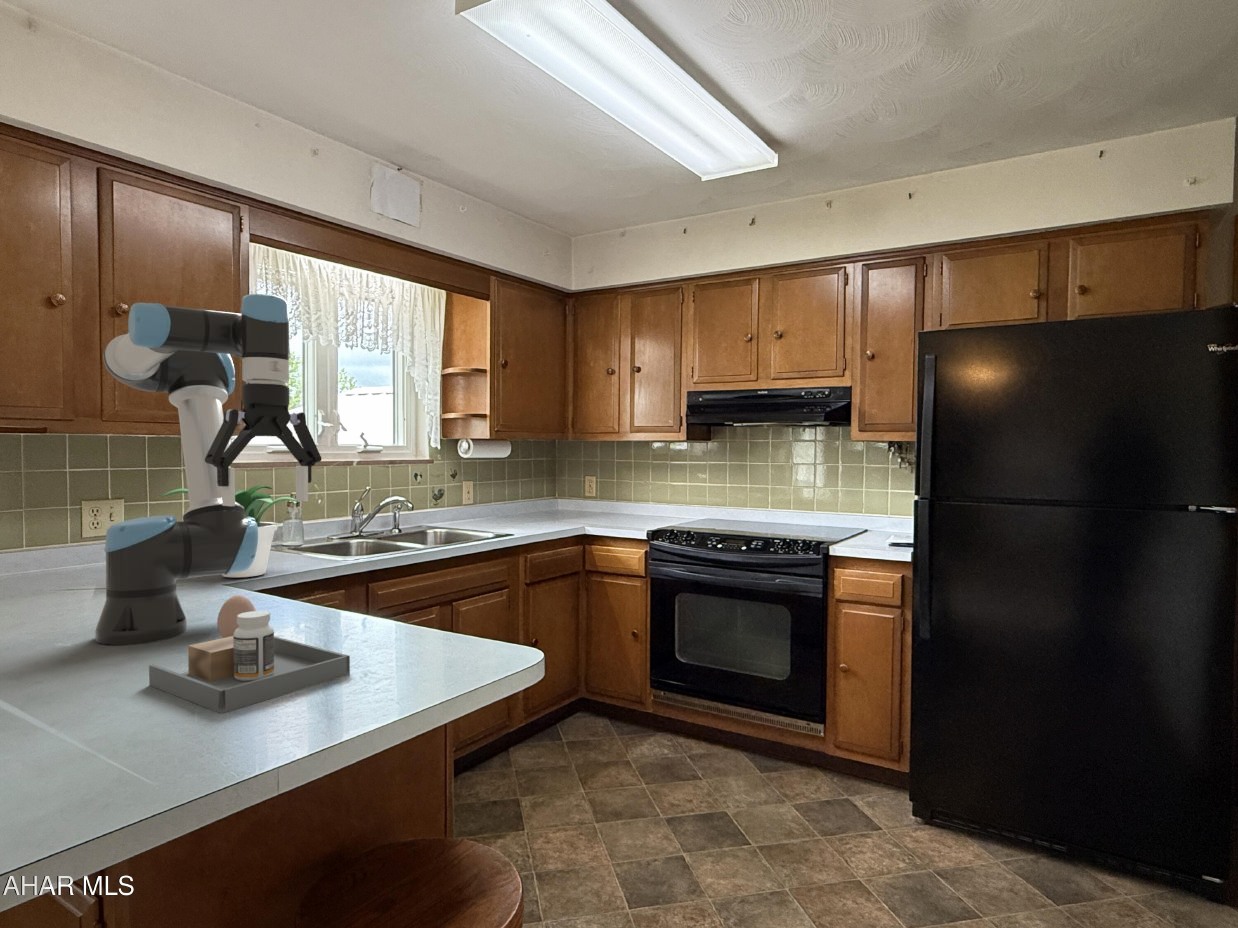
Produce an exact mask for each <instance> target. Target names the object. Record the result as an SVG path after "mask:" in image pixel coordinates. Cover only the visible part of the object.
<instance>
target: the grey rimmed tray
mask: <svg viewBox="0 0 1238 928" xmlns="http://www.w3.org/2000/svg"><path fill="white" fill-rule="evenodd" d="M350 656H351V655H348V654H343V653H341V652H336V651H333V650H329V649H325V648H321V647H317V646H313V645H309V644H306V643H302V642H297V641H294V640H292V639H291V640H290V639H286V638H283V637H279V636H274V673H273V674H272V675H271V676H269V677H266V678H262V679H258V680H255V681H240V680H237V679H235V677H234V676H231V677H227V678H224V679H220V680H216V681H212V682H211V681H208V680H205V679H202V678H200V677H197V676H194V675H191V674H189V671H187V672H182V673H179V672H176V671H174V670H171V669H168V668H166V667H162V666H159V665H156V664H149V665H148V676H149V677H148V680H149V682H148V683H149V686H151V687H153V688H155V689H158V690H161V691H163V692H166V693H167V694H171V695H174V696H176V697H179V698H182V699H184V700H186V701H189V702H191V703H194V704H197V705H200V706H202V707H203V708H207V709H209V710H211V711H213V712H217V713H219V714H225V713H227V712H230V711H234V710H237V709H240V708H245V707H247V706H250V705H251V706H252V705H253V704H257V703H260V702H264V701H267V700H270V699H274V698H276V697H277V698H278V697H280V696H284V695H287V694H291V693H294V692H296V691H301V690H304V689H306V688H309V687H313V686H316V685H320V684H323V683H326V682H328V681H331V680H334V679H338V678H342V677H344V676H347V675H350V673H351V672H350V671H351V669H350V668H351V665H350V664H351V662H350V661H351V657H350Z"/></svg>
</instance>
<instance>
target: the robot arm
mask: <svg viewBox="0 0 1238 928" xmlns="http://www.w3.org/2000/svg"><path fill="white" fill-rule="evenodd" d="M128 313H129V314H128V320H127V321H128V323H127V324H128V326H127V328H128V332H127V333H125V334H121V335H118V336H116V337H114V338H113V339H112V340H111V341H110V342H109V343H107V345H106V346H105V348H104V350H103V356H102V357H103V358H102V359H103V364H104V367H105V368H106V370H107V371H108V373H109V374H110V375H111V376H112V377H113V378H114V379H116V380H117V381H118V382H120V383H122V384H124V385H125V386H127V387H131V388H133V389H135V390H140V391H143V392H144V391H145V392H151V393H152V392H153V393H154V392H155V393H166V394H168V401H169V403H170V404H171V405H172V406H174V407H176V408H177V412H178V418H179V419H178V421H179V428H180V437H181V444H182V445H181V446H182V455H183V461H184V471H185V476H186V478H185V479H186V485H187V489H188V493H187V494H188V502H189V508H187V510H186V511H185V512H184V513H183V514H182V521H177V518H176V516H175V515H173V514H163V515H157V516H156V515H153V516H152V515H151V516H146V517H145V516H144V517H137V518H132V519H128V520H124V521H119V522H117V523H113V524H112V525H111V526H109V527H108V529H107V530H106V532H105V543H104V544H105V545H104V549H103V550H104V552H105V590H106V591H105V594H106V595H105V603H104V606H103V609H102V611H101V614H100V616H99V619H98V621H97V625H96V627H95V631H94V632H95V633H94V634H95V642H96V643H98V644H100V643H101V644H100V645H105V644H110V645H109V646H127V645H128V644H132V645H141V644H140V643H142V644H148V643H155V642H159V641H163V640H169V639H172V638H175V637H178V636H180V634H181V635H183V634H184V633H185V631H187V628H188V625H187V624H188V623H187V622H188V621H187V618H186V615H185V613H184V610H183V609H184V608H182V604H181V602H180V600H179V598H178V594H177V581H178V580H181V579H191V578H200V577H210V576H219V575H222V574H225V575H228V574H229V573H236V572H242V571H245V570H247V569H248V568H249V567H250V566H251V565H252V563H253V561H254V558H255V555H256V551H257V545H258V526H257V523H256V520H255V519H254V518H252V517H246V516H245V510H244V507H243V506H241V505H240V504H238V503H236V502H235V490H236V475H235V474H236V468H235V467H232V466H231V465H232V464H233V462H234V461H235V460H236V459H237V458H238V457H239V455H240V454H241V453H242V451H244V449H245V448H246V447H247V446H248V444H249V443H250V442H251V441H252V439H254V438H256V437H276V438H277V439H278V440H280V441H281V442H282V443H283V445H284V446H285V447H286V448H287V450H288V451H289V452H290V454H291V455H292V456H293V457H294V458H295V460H296V461H297V462H298V464H299V465H296V466H295V499H296V501H300V502H309V484H311V482H312V479H313V478H312V467H313V466H315V465H316V463H319V462H321V461H322V459H323V458H322V456H321V454H320V451H319V450H318V447H317V445H316V443H315V441H314V439H313V435H312V434H311V431H310V430H309V428H308V425H307V420H306V419H307V418H306V414H305V413H304V412H302V411H301V412H293V413H290V411H289V407H290V387H289V386H288V385H286V384H288V383H289V382H290V370H289V369H290V320H291V318H290V314H289V303H288V301H287V300H286V299H284V298H283V297H280V296H277V295H273V294H272V295H271V294H264V293H263V294H262V293H251V294H250V293H249V294H246V295H245V296H243V297H242V300H241V307H240V313H235V312H227V311H226V312H225V311H216V310H209V309H208V310H207V309H199V308H194V307H193V308H192V307H186V306H185V307H184V306H177V305H168V304H161V303H158V302H153V303H150V302H149V303H148V302H136V303H133V304H132V305H131V307H130V310H129V312H128ZM231 355H232V356H233V357H238V358H242V359H241V367H242V368H241V381H244V382H245V384H243V385H242V386H241V388H242V391H241V392H242V395H241V396H242V400H241V402H242V406H243V408H242V411H239V410H238V409H237V408H235V409H234V408H233V409H226V410H223V405H224V404H225V403H226V402H227V401H228V400H229V395H231V394H233V392H234V390H235V386H236V378H235V375H236V371H235V365H234V363H233V359H232V357H231ZM223 411H224V412H223ZM241 420H242V422H243V423H244V426H243V427H242V428H241V430H240V431H239V432H238V435H237V436H236V437H235V439H234V440H233V441H232V442H231V443H230V444H229V442H230V441H231V438H232V436H233V434H234V433H235V430H236V428H237V425H238V423H240V422H241ZM289 423H290V424H291V425H292V426H293V430H294V432H295V434H296V436H297V438H298V440H299V442H298V440H297V438H295V436H294V435H293V431H292V430H291V429H290V428H289V427H288V424H289ZM228 445H229V446H228ZM182 633H183V634H182ZM177 635H178V636H177ZM174 636H175V637H174ZM128 646H129V645H128Z"/></svg>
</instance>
